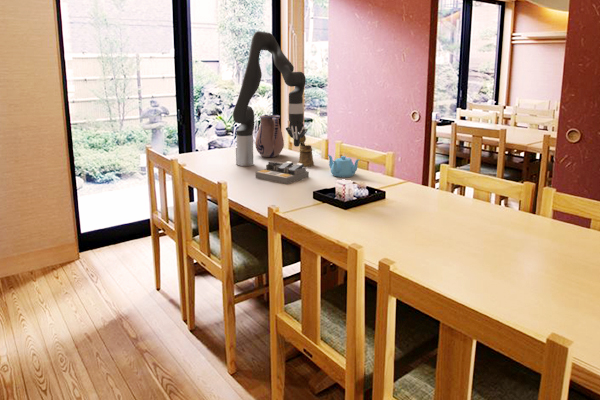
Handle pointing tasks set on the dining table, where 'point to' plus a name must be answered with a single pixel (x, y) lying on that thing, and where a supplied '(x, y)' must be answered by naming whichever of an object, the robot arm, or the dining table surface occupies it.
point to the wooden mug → (305, 153)
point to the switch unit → (282, 174)
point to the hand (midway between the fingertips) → (296, 146)
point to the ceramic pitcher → (269, 136)
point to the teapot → (343, 166)
